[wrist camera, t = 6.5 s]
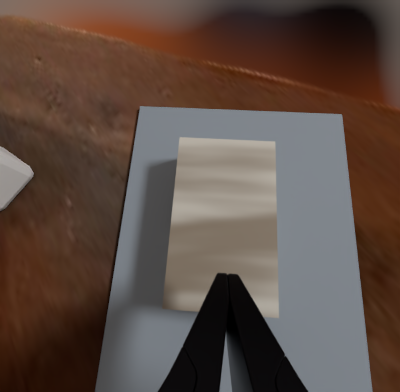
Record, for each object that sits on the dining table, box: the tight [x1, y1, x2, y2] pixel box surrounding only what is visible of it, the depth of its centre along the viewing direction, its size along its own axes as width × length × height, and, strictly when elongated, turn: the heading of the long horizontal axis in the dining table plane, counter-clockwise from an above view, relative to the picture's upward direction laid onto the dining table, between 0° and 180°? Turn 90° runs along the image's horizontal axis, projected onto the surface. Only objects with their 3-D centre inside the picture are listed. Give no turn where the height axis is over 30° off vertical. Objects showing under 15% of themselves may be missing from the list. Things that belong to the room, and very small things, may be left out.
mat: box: [95, 106, 372, 392], centre depth 16 cm, size 20×16×1 cm
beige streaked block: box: [162, 137, 279, 318], centre depth 15 cm, size 3×6×10 cm
